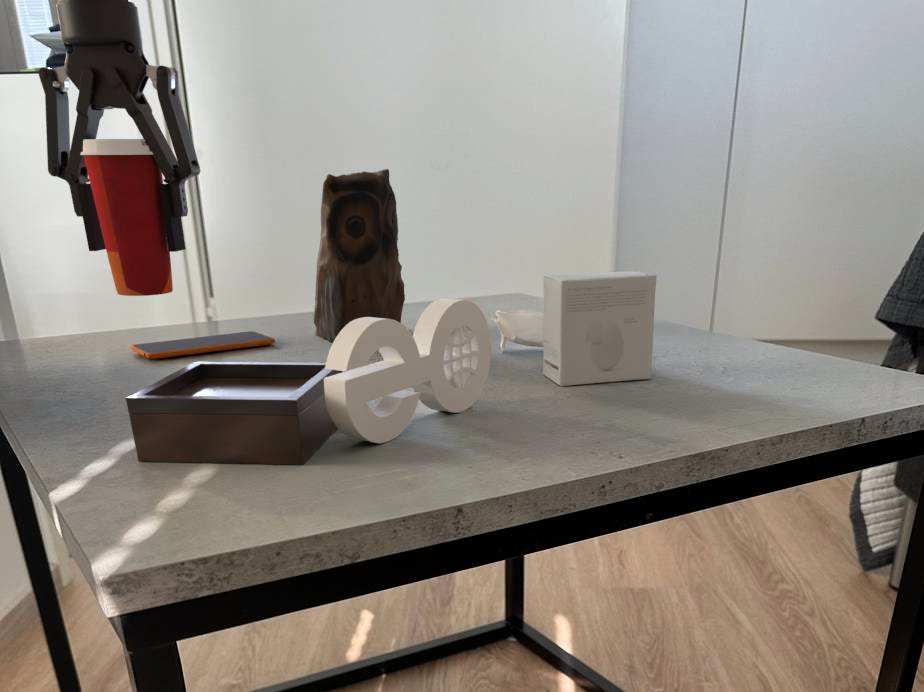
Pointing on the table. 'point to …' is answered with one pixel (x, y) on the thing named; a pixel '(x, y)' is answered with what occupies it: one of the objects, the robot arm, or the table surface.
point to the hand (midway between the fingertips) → (137, 249)
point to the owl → (357, 253)
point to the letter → (407, 368)
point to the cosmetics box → (598, 327)
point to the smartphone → (201, 344)
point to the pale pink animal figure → (520, 327)
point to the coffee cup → (130, 214)
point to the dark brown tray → (233, 414)
